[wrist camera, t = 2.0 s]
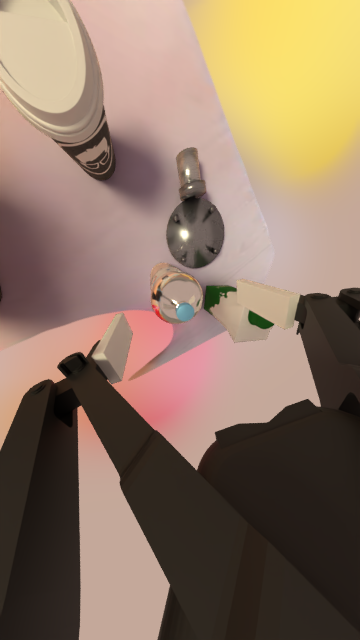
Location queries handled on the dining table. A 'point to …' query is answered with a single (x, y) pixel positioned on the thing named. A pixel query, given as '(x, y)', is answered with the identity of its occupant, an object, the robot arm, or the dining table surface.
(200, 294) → the water bottle
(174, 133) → the dining table surface
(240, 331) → the milk carton
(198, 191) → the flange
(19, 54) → the coffee cup
